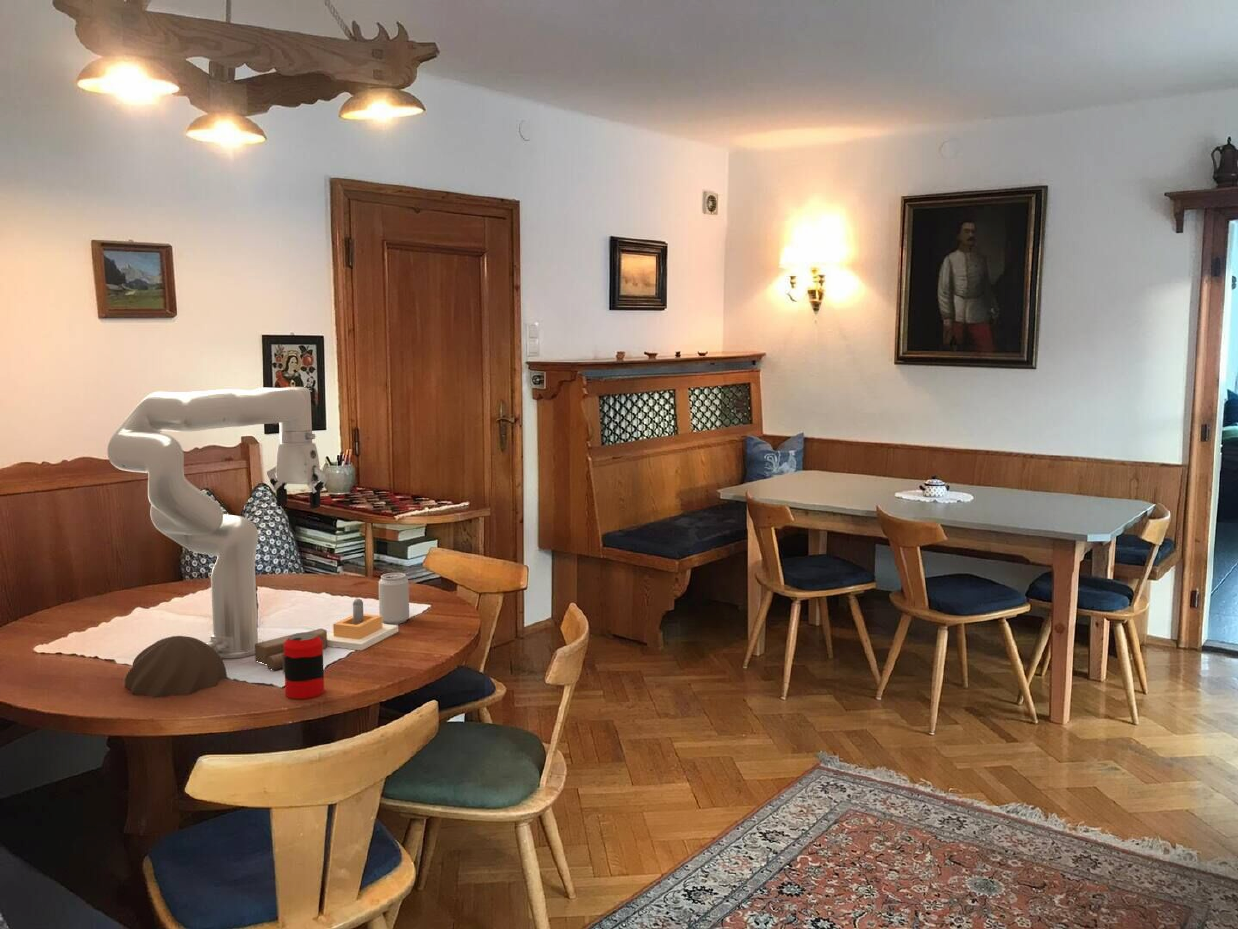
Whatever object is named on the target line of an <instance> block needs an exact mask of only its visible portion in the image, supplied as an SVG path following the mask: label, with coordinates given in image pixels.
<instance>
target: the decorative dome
mask: <svg viewBox="0 0 1238 929" xmlns="http://www.w3.org/2000/svg"><path fill="white" fill-rule="evenodd" d="M206 643H207V642H204V641H202V640H201V639H198V638H197V637H196V638H195V637H192V636H186V635H173V636H170V637H164V638H161V639H159V640H157V641H156V642H154V643H153V644H151V645H149V646H148V647H146V648H145V649H143V650H142V651H141V652H139V653H138V654H137V655H136V656H135V658H134V660H133V661H132V667H131V668H130V669H129V671H128V672H127V674H126V676H125V680H124V684H125V687H126V688H128V687H129V689H130V688H131V689H130V693H131V694H130V695H138V696H140V695H141V696H148V697H149V698H150V697H151V698H154V699H156V698H157V699H158V698H163V697H167V696H188V695H192V694H194V693H196V692H197V691H198V692H199V691H201V690H205V689H209V688H215V687H216V686H217V684H218V683H219V681H222V680H224V679H225V678H227V677H228V676H227V675H228V674H227V670H226V666H225V664H224V663H225V662H224V661H223V658H221V657H220V656H219V654H218V653H217V652H216V651H215V650H214V649H213V648H211V647H210V646H209V645H207V644H206Z"/></svg>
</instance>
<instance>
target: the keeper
mask: <svg viewBox="0 0 1238 929" xmlns="http://www.w3.org/2000/svg"><path fill="white" fill-rule="evenodd" d="M363 614H364V601H363V600H362V599H361V598H355V599H353V602H352V615H353V624H354V625H358V624H360V623H362V622H364V618H363ZM398 632H399V625H398V624H397V625H396V624H387V623H382V628H381V629H379V630H377V631H375V632H373V633H371V634H369V635H367V636H365V637H363V638H361V639H351V638H343V637H335V636H334V633H333V631H331V632H329V633H327V646H326V647H329V646H335V647H334V648H337V647H341V648H340V649H346V648H348V649H347V650H353V651H354V650H355V651H363V650H366V649H368V648H369V647H371V646H373V645H375V644H377V643H379V642H381V641H383V640H385V639H387V638H389V637H391V636H392V635H395V634H396V633H398Z"/></svg>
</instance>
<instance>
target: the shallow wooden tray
mask: <svg viewBox="0 0 1238 929" xmlns="http://www.w3.org/2000/svg"><path fill="white" fill-rule="evenodd" d="M363 618H364V622H362V623H360V624H358V625H354V624H353V614H352V615H350V616H348V617H345V618H344V619H341V620H339V621H337V622H335V623H333V624H332V630H333V631H332V632H333V633H334V636H335V637H343V638H351V639H361V638H363V637H365V636H367V635H369V634H371V633H373V632H375V631H377V630H379V629H381V628H382V624H383V621H382V616H379V614H378V615H377V614H376V615H375V614H368V613H363Z"/></svg>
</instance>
